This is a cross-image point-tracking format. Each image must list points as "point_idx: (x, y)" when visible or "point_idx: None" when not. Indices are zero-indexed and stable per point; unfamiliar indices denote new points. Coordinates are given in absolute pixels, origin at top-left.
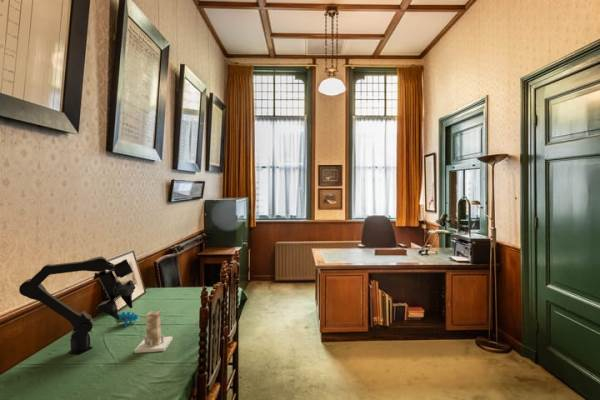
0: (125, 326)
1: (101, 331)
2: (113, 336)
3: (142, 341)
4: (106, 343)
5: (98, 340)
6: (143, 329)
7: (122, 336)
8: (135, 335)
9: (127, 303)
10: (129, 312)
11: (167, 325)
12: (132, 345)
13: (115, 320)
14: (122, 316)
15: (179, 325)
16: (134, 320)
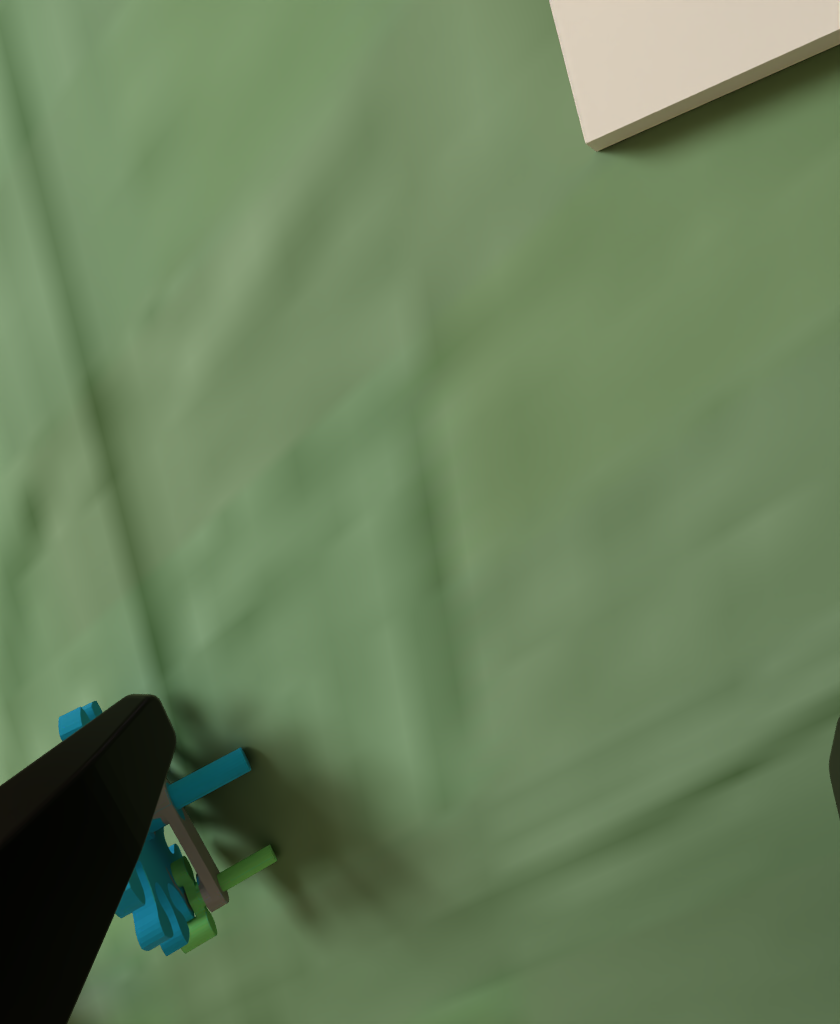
0: (246, 760)
1: (402, 963)
2: (508, 763)
3: (747, 60)
4: (751, 742)
5: (654, 896)
6: (254, 491)
7: (491, 643)
8: (433, 476)
9: (76, 928)
10: None
11: (88, 239)
12: (814, 243)
13: (210, 923)
14: (154, 878)
15: (42, 48)
16: None
